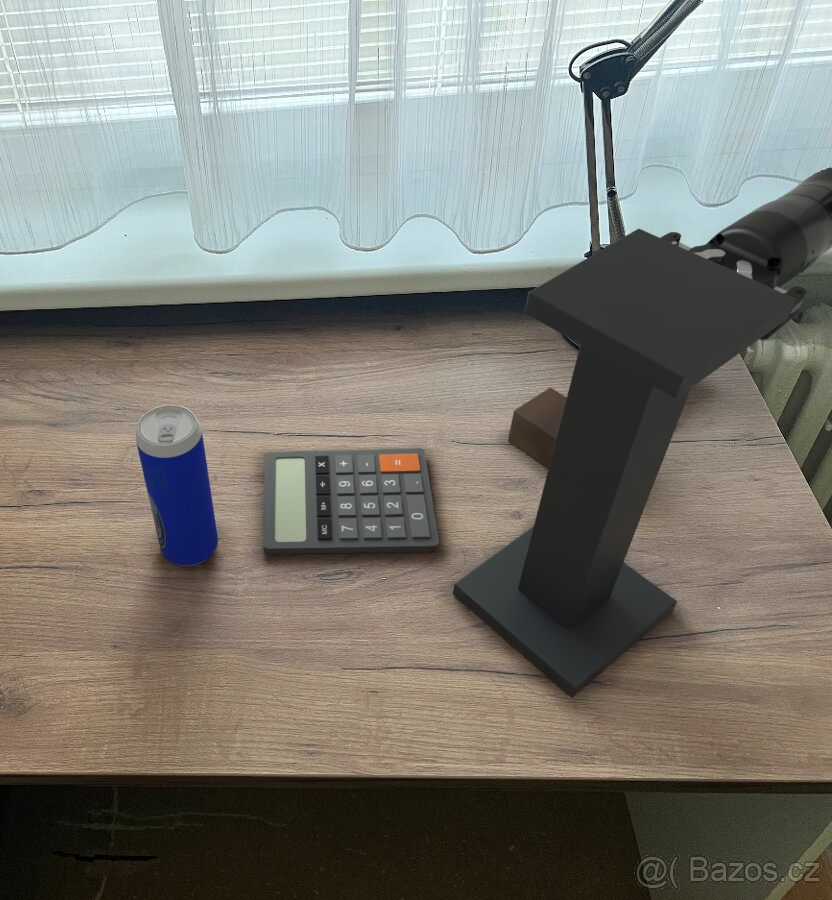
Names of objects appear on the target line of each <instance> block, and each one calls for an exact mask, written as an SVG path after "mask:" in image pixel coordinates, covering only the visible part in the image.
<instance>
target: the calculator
mask: <svg viewBox="0 0 832 900" xmlns="http://www.w3.org/2000/svg"><path fill="white" fill-rule="evenodd" d="M427 464H428V463H427V457H426V451H425V449H423V448H420V447H416V448H413V447H412V448H377V449H375V448H373V449H372V448H371V449H342V450H341V449H340V450H339V449H337V450H302V451H301V450H300V451H269V452H265V455H264V486H263V488H264V489H263V490H264V491H263V492H264V494H263V531H262V540H263V541H262V547H263V549H262V550H263V553H264V554H267V555H271V554H272V555H273V554H274V555H276V554H277V555H278V554H282V555H283V554H343V553H345V554H347V553H350V554H351V553H407V552H409V553H411V552H437V551H438V549H439V543H440V541H439V534H438V527H437V522H436V517H435V515H436V514H435V509H434V503H433V496H432V490H431V483H430V478H429V477H430V476H429V471H428V465H427Z"/></svg>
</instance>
